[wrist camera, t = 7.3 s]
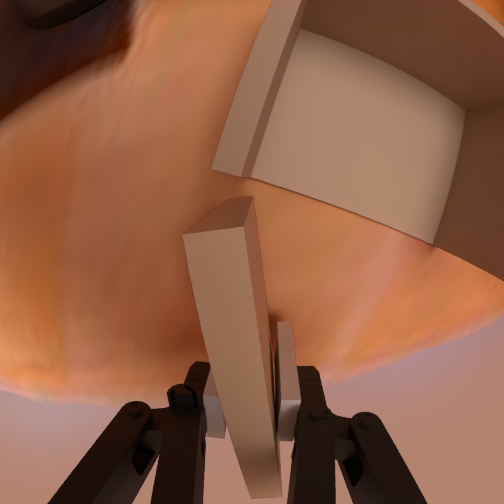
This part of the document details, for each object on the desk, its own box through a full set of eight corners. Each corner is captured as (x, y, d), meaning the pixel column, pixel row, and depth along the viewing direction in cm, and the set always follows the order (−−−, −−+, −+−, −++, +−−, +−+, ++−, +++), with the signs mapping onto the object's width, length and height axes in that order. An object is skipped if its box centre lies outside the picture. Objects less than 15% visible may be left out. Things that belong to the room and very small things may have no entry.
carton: (237, 173, 16) (210, 168, 7) (290, 18, 13) (309, -77, 5) (437, 246, 17) (529, 295, 8) (471, 108, 14) (561, 91, 5)
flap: (226, 200, 16) (178, 235, 6) (253, 196, 16) (243, 226, 6) (253, 375, 19) (248, 498, 9) (275, 373, 19) (282, 496, 9)
